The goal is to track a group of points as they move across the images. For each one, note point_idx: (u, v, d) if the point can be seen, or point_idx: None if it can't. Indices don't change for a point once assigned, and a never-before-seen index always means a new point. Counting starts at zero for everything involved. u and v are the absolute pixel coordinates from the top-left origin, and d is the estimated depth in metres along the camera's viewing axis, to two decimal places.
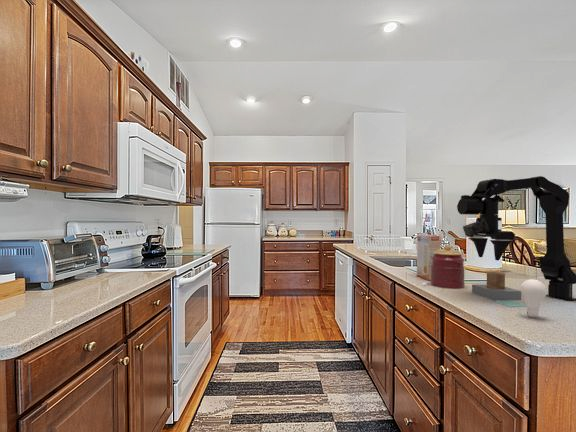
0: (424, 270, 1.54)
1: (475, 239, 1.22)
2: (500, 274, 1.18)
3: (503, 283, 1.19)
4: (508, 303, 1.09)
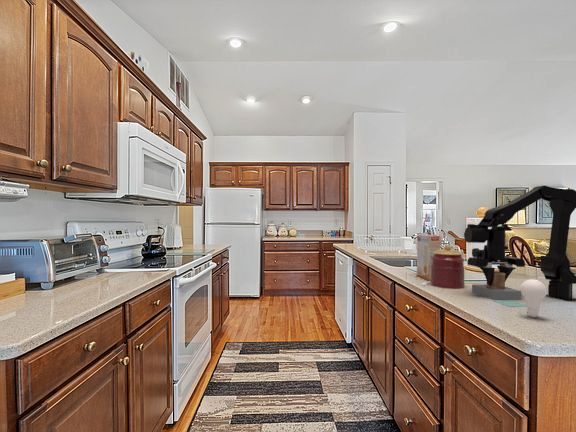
0: (424, 270, 1.54)
1: (499, 267, 1.22)
2: (500, 274, 1.18)
3: (503, 283, 1.19)
4: (508, 303, 1.09)
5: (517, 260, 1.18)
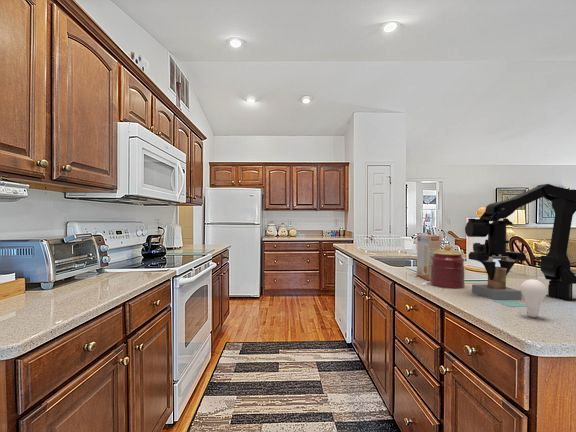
0: (424, 270, 1.54)
1: (500, 261, 1.22)
2: (501, 269, 1.18)
3: (504, 278, 1.19)
4: (508, 303, 1.09)
5: (518, 254, 1.18)
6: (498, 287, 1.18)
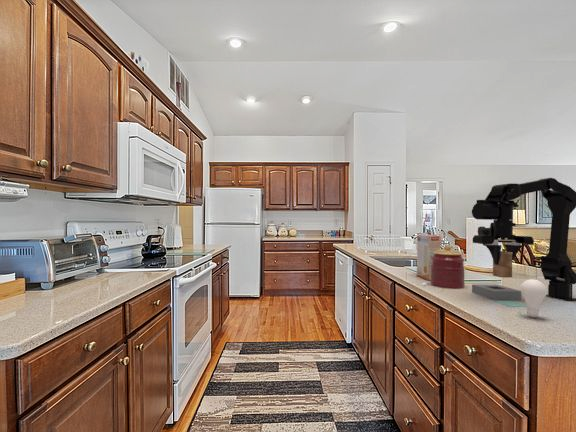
0: (424, 270, 1.54)
1: (506, 245, 1.17)
2: (507, 253, 1.13)
3: (510, 263, 1.13)
4: (508, 303, 1.09)
5: (525, 238, 1.13)
6: (504, 272, 1.13)
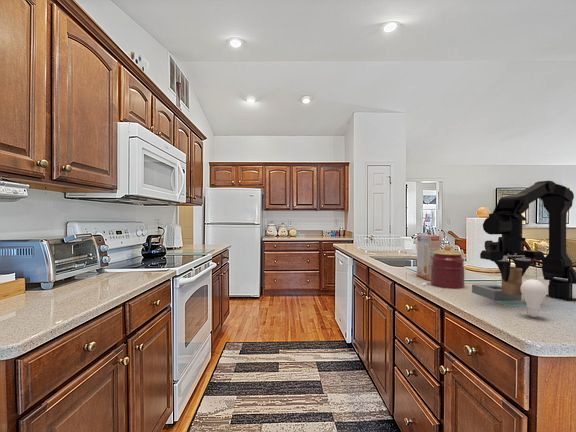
0: (424, 270, 1.54)
1: (515, 261, 1.11)
2: (517, 269, 1.07)
3: (520, 279, 1.07)
4: (508, 303, 1.09)
5: (535, 253, 1.07)
6: (514, 290, 1.07)
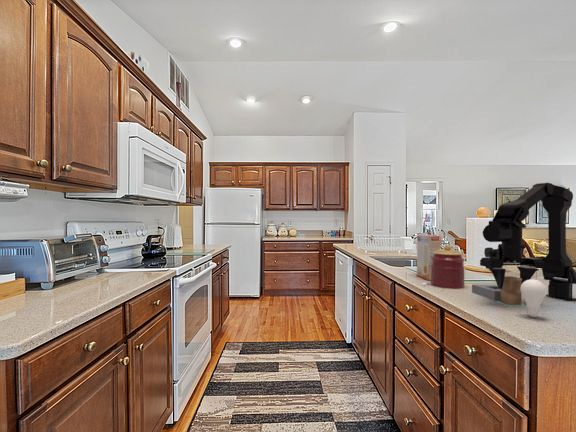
0: (424, 270, 1.54)
1: (519, 268, 1.11)
2: (516, 279, 1.07)
3: (519, 289, 1.07)
4: None
5: (535, 260, 1.07)
6: (513, 300, 1.07)
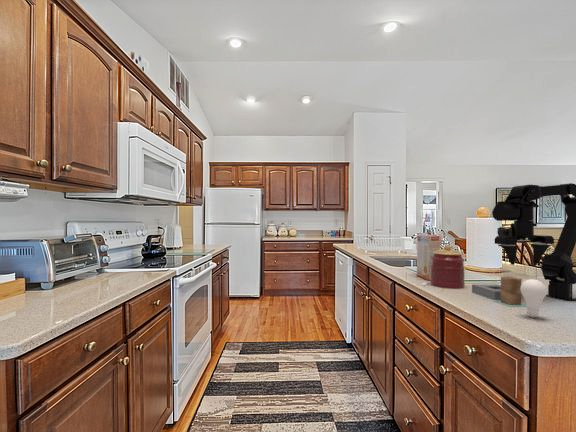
0: (424, 270, 1.54)
1: (532, 245, 1.19)
2: (516, 279, 1.07)
3: (519, 289, 1.07)
4: None
5: (546, 237, 1.15)
6: (513, 300, 1.07)
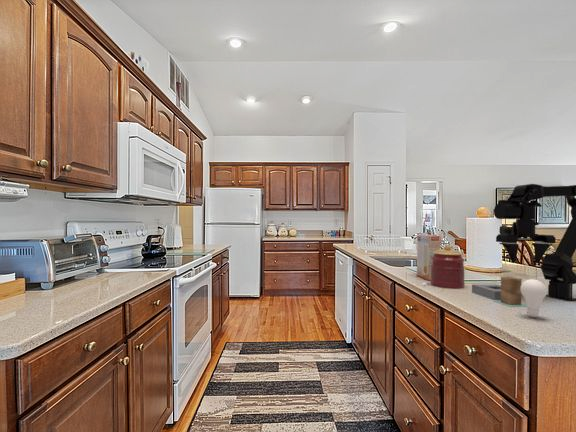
0: (424, 270, 1.54)
1: (534, 244, 1.21)
2: (516, 279, 1.07)
3: (519, 289, 1.07)
4: None
5: (547, 236, 1.16)
6: (513, 300, 1.07)
